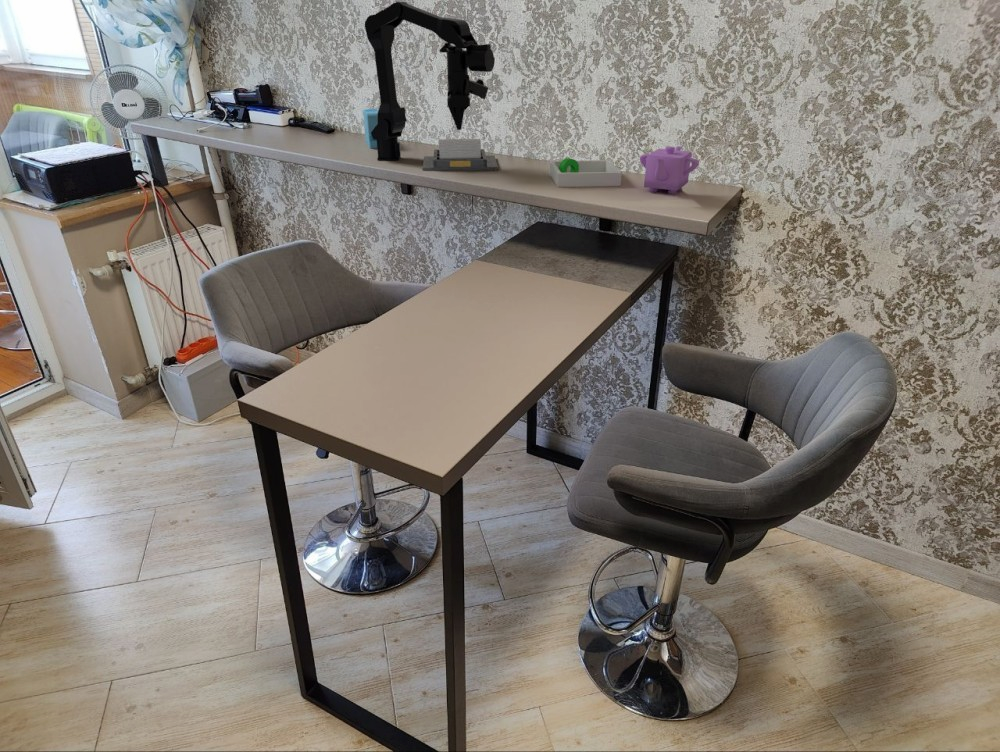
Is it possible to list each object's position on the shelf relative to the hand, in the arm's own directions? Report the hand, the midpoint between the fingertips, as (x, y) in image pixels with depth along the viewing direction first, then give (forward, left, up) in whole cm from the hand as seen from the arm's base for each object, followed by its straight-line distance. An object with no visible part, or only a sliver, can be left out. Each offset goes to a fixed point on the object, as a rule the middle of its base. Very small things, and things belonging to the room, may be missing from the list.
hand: (459, 129), depth 199 cm
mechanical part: (+26, -16, -14) cm, 34 cm away
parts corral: (+34, -17, -11) cm, 40 cm away
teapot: (+53, -31, -11) cm, 62 cm away
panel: (0, 0, -10) cm, 10 cm away
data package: (-28, +35, -11) cm, 46 cm away
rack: (0, +5, -11) cm, 12 cm away
